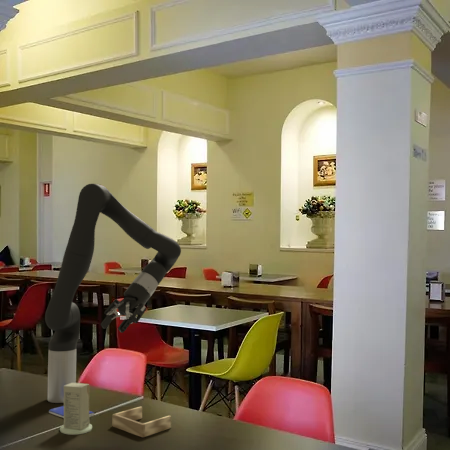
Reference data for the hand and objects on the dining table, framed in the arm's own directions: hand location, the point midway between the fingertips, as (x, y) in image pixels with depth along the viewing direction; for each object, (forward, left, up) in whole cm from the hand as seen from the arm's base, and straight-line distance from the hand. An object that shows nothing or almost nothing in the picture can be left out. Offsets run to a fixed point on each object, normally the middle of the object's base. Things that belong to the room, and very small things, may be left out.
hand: (111, 329), depth 171 cm
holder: (+8, +10, -28) cm, 30 cm away
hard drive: (-7, -12, -28) cm, 32 cm away
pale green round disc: (+8, -9, -28) cm, 30 cm away
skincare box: (+7, -9, -27) cm, 30 cm away
